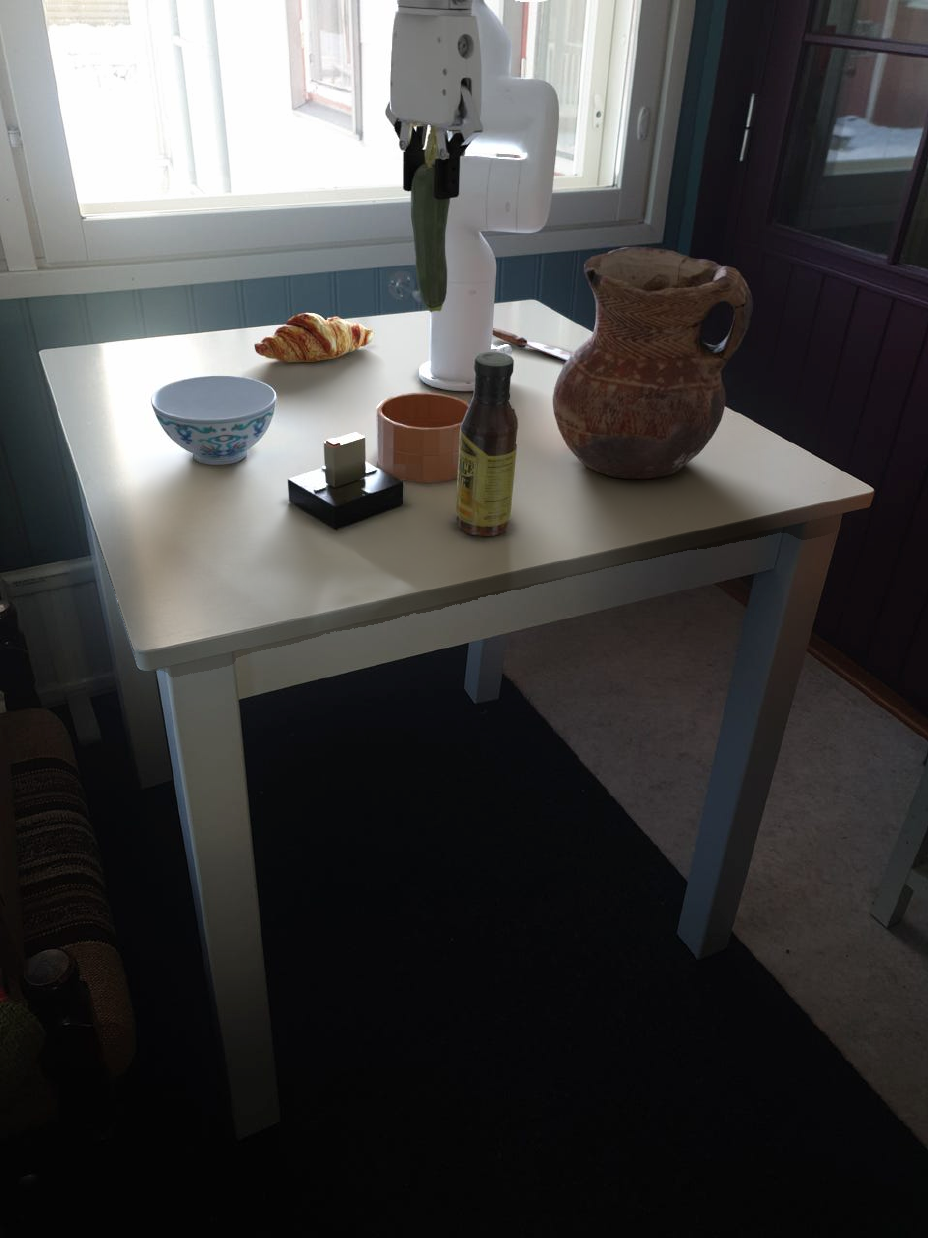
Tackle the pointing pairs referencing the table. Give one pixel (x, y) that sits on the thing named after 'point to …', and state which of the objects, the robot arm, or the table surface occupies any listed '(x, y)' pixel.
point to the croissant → (313, 339)
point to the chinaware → (215, 415)
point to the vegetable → (429, 230)
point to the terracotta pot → (420, 436)
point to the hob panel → (346, 496)
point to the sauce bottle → (487, 449)
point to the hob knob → (344, 459)
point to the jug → (649, 362)
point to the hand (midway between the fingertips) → (430, 191)
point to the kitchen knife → (530, 344)
